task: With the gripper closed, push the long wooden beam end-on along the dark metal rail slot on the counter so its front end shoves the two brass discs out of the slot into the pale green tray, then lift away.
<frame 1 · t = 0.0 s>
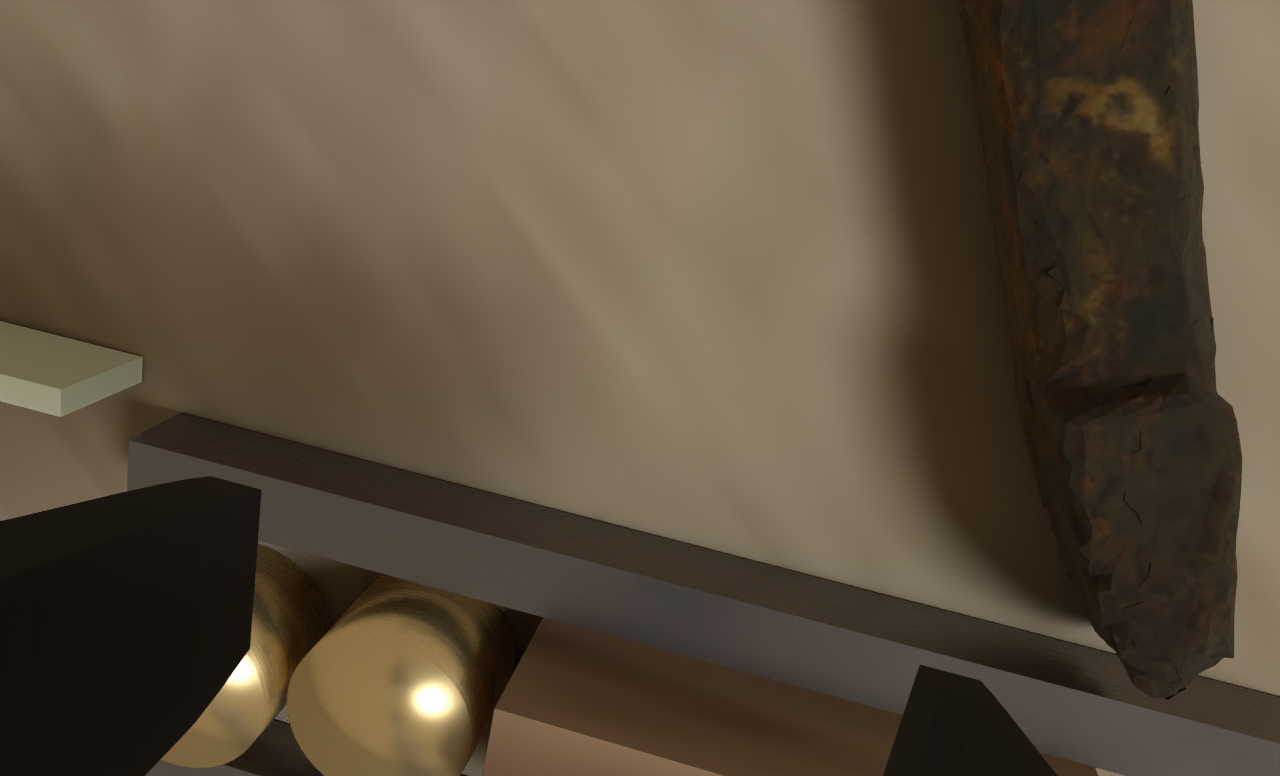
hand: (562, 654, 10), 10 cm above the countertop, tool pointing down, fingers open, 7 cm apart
chip b: (253, 615, 24), on the countertop
chip a: (433, 643, 23), on the countertop
brown wooden log: (1085, 141, 18), on the countertop
slot rails: (658, 721, 22), on the countertop
long wooden beam: (789, 749, 22), on the countertop
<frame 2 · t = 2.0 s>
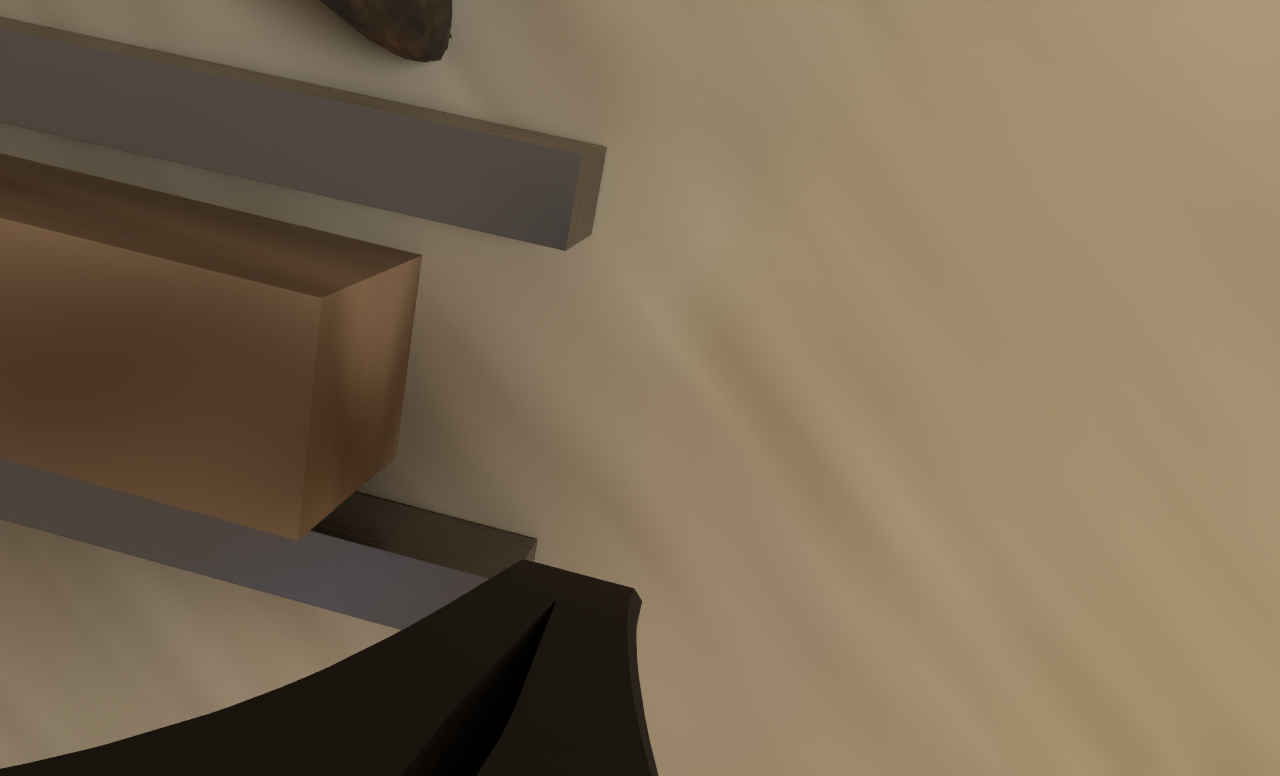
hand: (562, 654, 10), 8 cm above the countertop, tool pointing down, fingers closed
long wooden beam: (124, 282, 19), on the countertop
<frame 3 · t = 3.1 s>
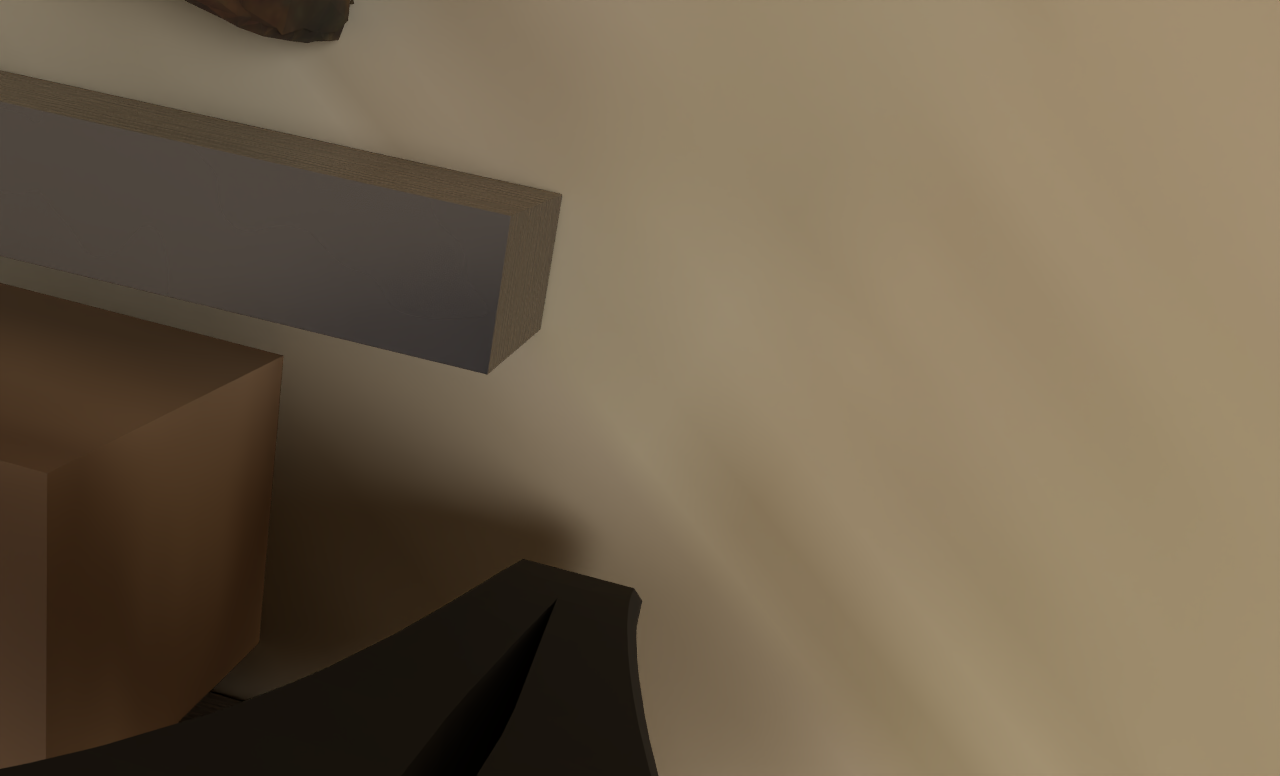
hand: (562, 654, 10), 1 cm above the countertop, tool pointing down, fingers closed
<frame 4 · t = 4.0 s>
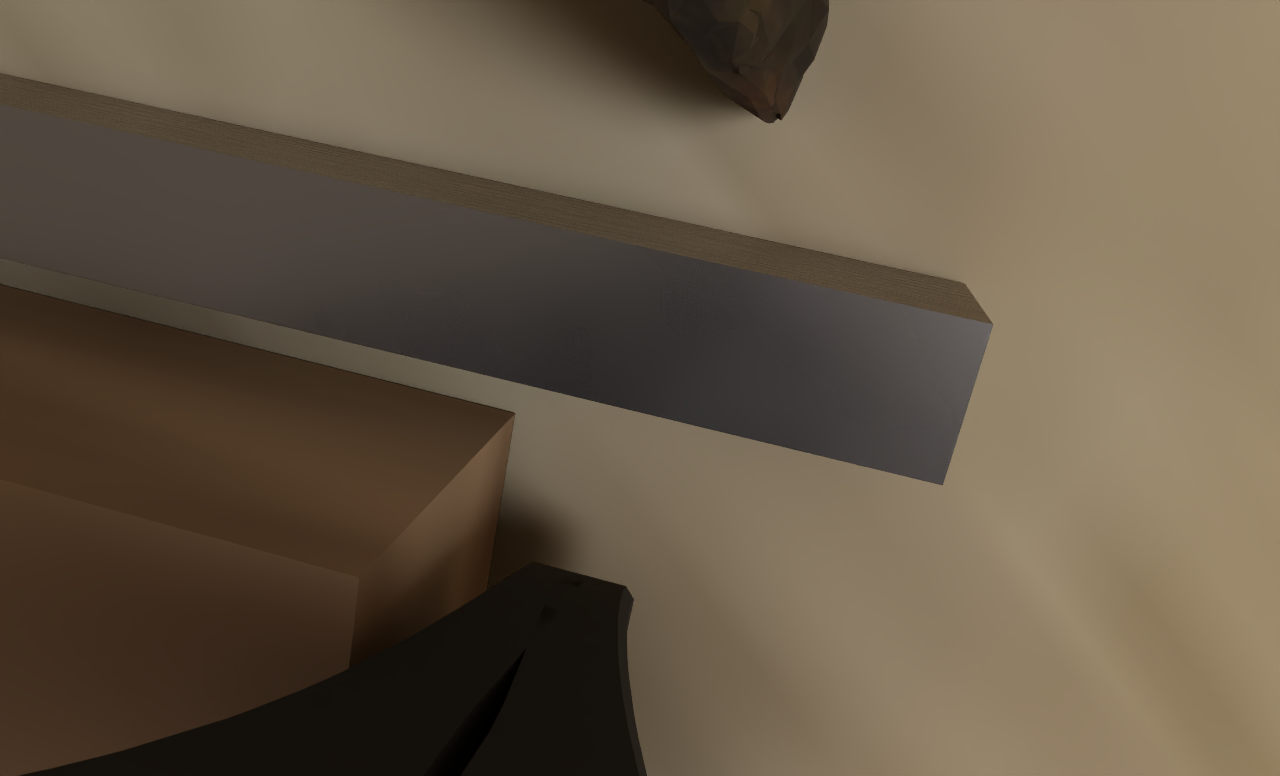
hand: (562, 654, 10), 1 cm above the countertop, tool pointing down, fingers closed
long wooden beam: (43, 445, 13), on the countertop, touching chip a, gripper
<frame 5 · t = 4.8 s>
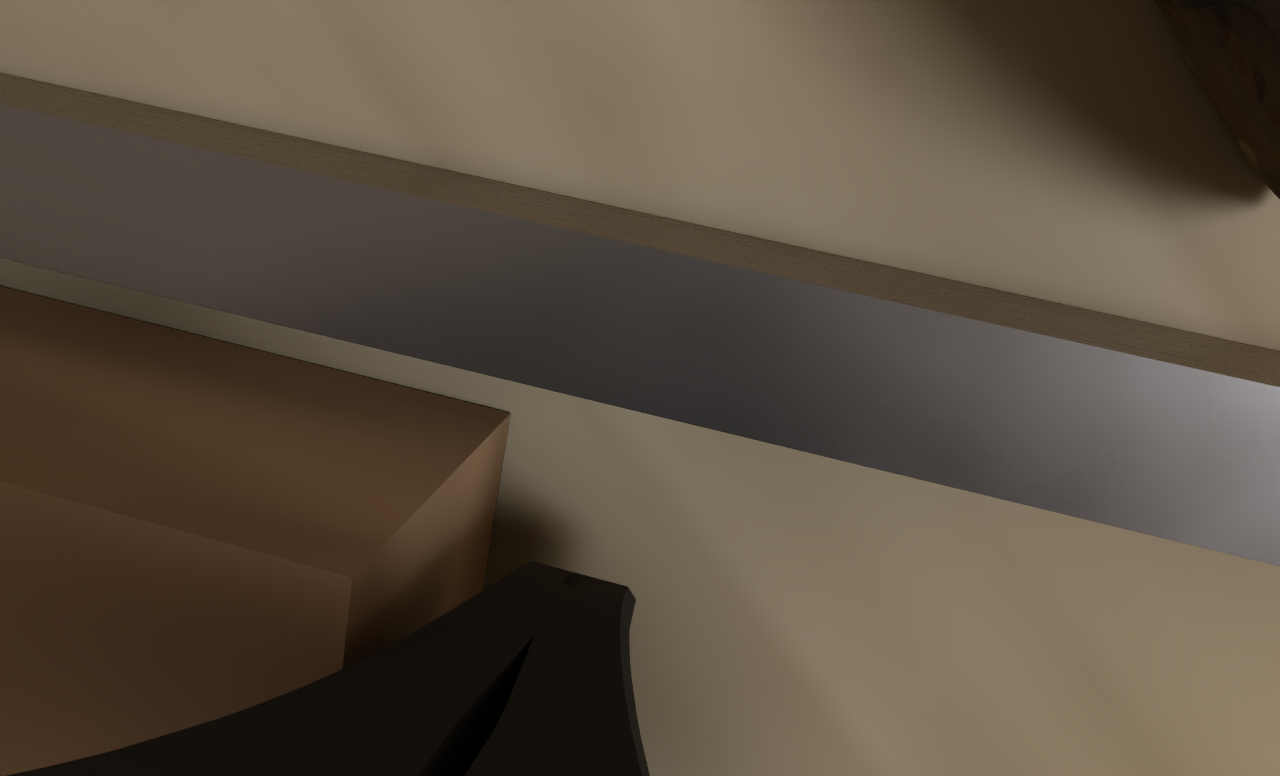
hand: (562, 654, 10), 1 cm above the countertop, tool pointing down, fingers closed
slot rails: (265, 504, 12), on the countertop
long wooden beam: (38, 446, 13), on the countertop, touching chip a, gripper
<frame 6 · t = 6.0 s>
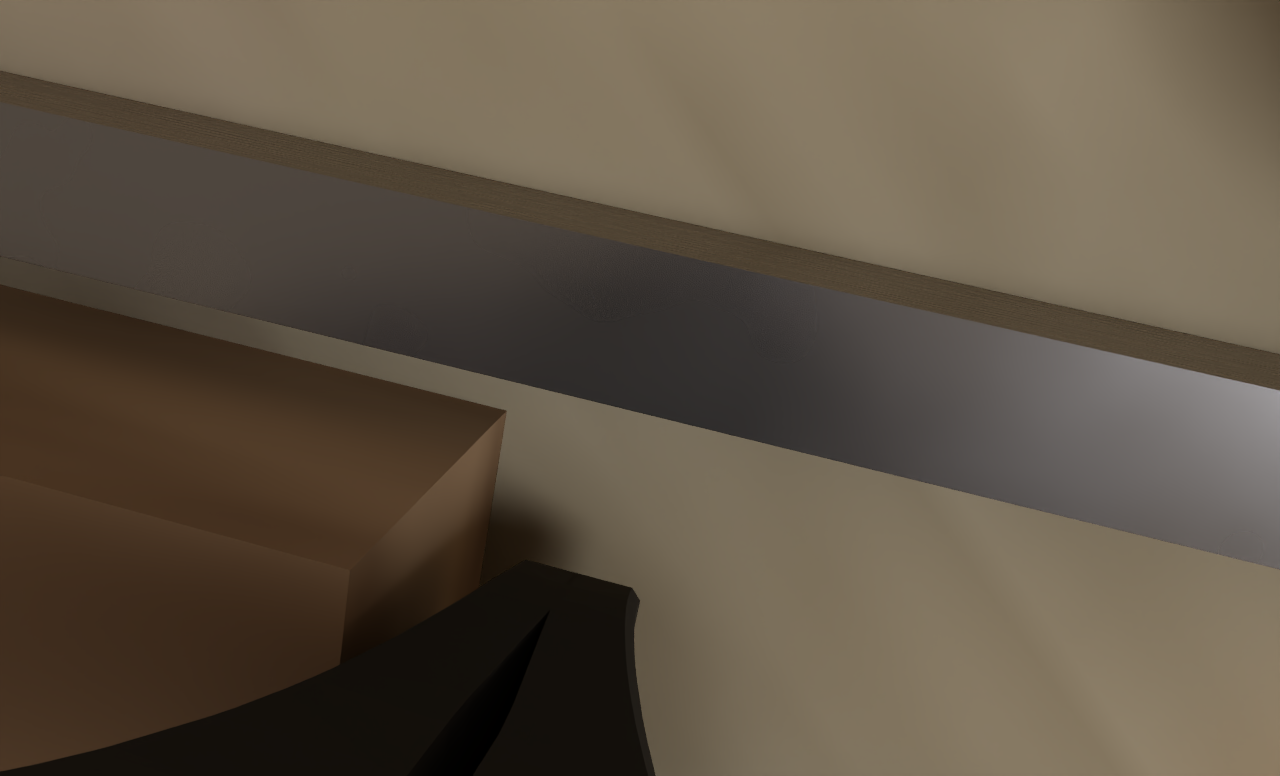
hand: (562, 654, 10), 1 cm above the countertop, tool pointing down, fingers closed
slot rails: (551, 580, 12), on the countertop
long wooden beam: (40, 442, 13), on the countertop, touching gripper
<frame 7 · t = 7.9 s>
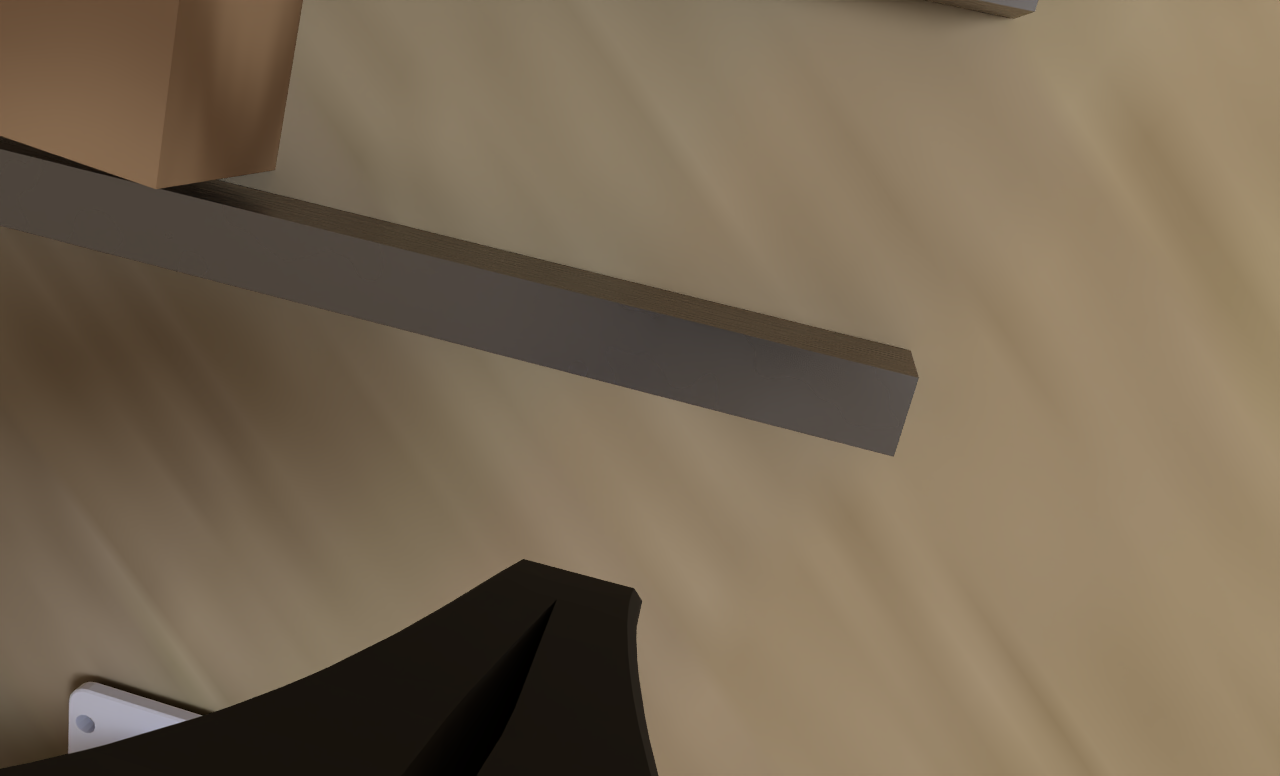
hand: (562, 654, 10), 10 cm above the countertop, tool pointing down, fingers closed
slot rails: (335, 51, 19), on the countertop
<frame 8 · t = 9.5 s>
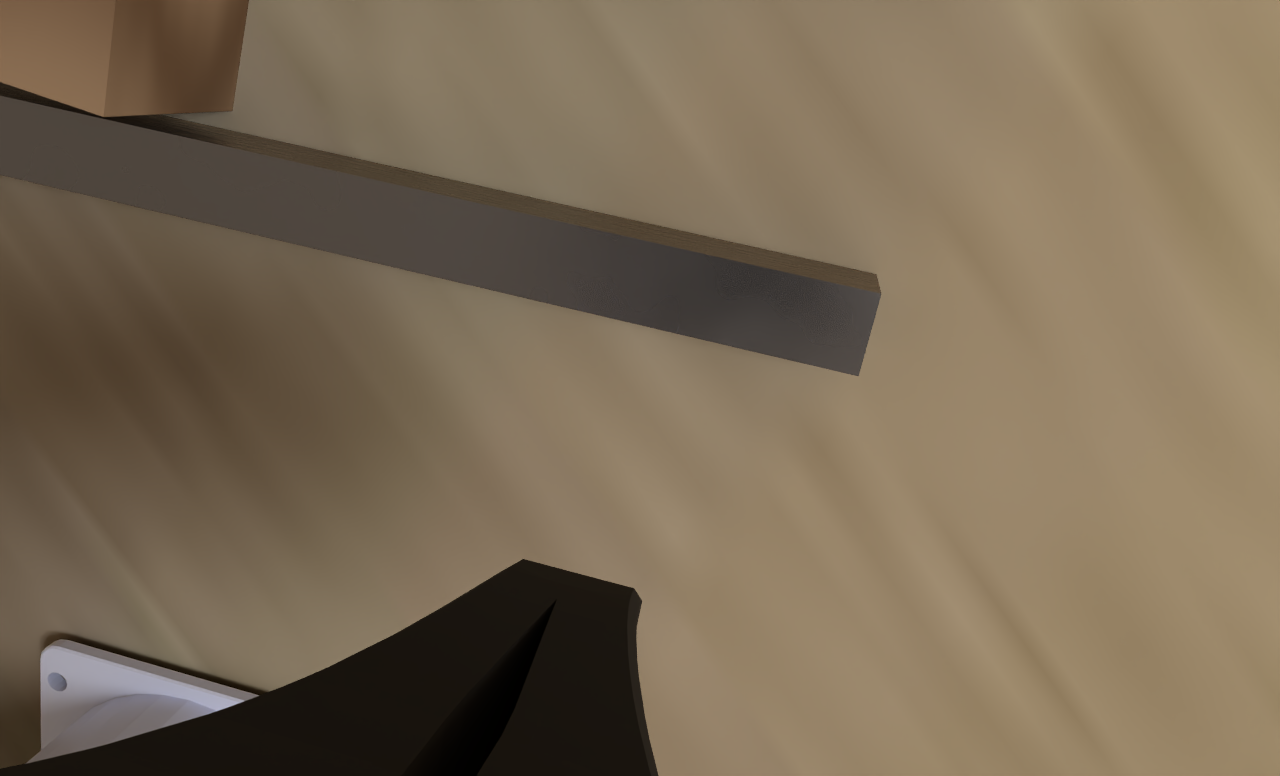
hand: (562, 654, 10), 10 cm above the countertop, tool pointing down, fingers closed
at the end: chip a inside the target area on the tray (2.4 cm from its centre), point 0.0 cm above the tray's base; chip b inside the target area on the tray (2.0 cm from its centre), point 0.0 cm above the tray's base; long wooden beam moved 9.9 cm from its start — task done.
